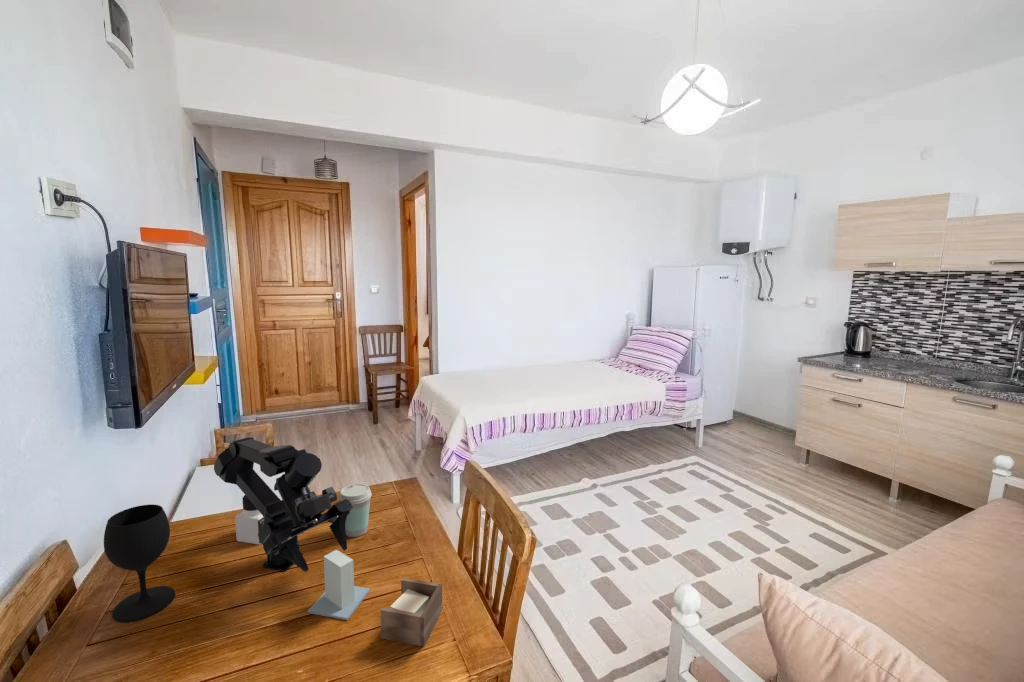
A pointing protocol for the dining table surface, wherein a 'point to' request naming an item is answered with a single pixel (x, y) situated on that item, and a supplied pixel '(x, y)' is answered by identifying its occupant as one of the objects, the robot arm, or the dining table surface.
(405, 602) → the offcut stack
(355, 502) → the coffee cup
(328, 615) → the mat
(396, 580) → the dining table surface
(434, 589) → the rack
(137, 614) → the wine glass
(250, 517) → the medicine bottle
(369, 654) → the dining table surface
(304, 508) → the robot arm
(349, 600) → the pale grey rectangular block
